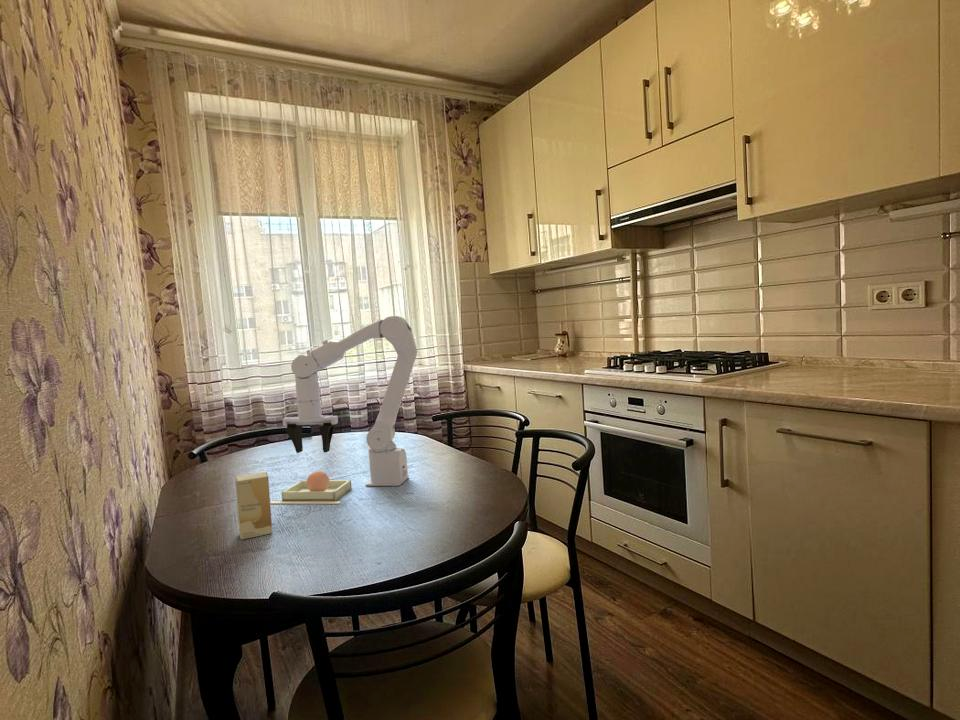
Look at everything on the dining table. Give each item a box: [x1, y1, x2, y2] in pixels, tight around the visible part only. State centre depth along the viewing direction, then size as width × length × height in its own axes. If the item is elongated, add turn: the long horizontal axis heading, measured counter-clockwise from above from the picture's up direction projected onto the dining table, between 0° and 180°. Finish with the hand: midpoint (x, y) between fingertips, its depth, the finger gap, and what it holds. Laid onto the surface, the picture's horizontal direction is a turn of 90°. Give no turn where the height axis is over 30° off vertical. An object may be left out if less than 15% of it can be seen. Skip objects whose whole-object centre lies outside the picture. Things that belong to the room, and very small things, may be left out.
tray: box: [280, 479, 352, 501], centre depth 138 cm, size 14×10×2 cm
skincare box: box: [234, 471, 273, 540], centre depth 113 cm, size 6×4×12 cm
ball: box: [306, 470, 330, 491], centre depth 137 cm, size 6×6×6 cm
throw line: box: [270, 500, 341, 505], centre depth 132 cm, size 18×1×1 cm, turn 79°
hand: (312, 451), depth 144 cm, fingers open, 7 cm apart
